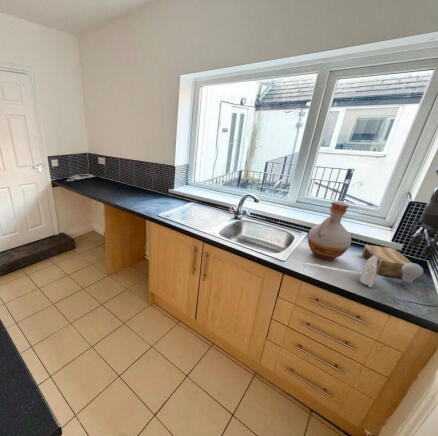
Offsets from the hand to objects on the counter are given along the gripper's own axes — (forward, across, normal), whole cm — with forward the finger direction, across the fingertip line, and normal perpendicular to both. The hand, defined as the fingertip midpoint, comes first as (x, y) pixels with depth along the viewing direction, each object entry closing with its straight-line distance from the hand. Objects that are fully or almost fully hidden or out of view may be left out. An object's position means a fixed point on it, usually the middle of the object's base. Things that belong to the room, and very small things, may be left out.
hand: (420, 250), depth 99 cm
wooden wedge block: (+17, +16, +1) cm, 24 cm away
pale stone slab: (+17, -1, +14) cm, 22 cm away
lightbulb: (+17, 0, 0) cm, 17 cm away
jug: (+17, +16, +27) cm, 36 cm away
